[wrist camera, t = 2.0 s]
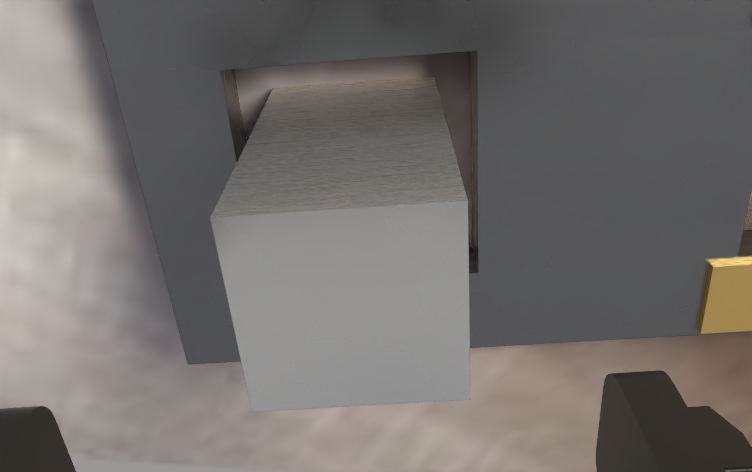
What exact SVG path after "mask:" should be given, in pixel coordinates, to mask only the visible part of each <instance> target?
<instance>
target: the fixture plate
mask: <svg viewBox="0 0 752 472" xmlns="http://www.w3.org/2000/svg"><path fill="white" fill-rule="evenodd" d="M92 2H93V6H94V10H95V14H96V18H97V21H98V25H99V29H100V33H101V37H102V40H103V44H104V48H105V52H106V56H107V59H108V63H109V67H110V71H111V74H112V78H113V82H114V86H115V90H116V93H117V97H118V101H119V105H120V109H121V112H122V116H123V120H124V124H125V128H126V131H127V135H128V139H129V143H130V146H131V150H132V154H133V158H134V162H135V165H136V169H137V173H138V177H139V181H140V184H141V188H142V192H143V196H144V200H145V203H146V207H147V211H148V215H149V218H150V222H151V226H152V230H153V234H154V237H155V241H156V245H157V249H158V253H159V256H160V260H161V264H162V268H163V272H164V275H165V279H166V283H167V287H168V290H169V294H170V298H171V302H172V306H173V309H174V313H175V317H176V321H177V325H178V328H179V332H180V336H181V340H182V344H183V347H184V351H185V355H186V359H187V362H188V364H204V363H221V362H238V361H241V358H240V354H239V349H238V344H237V340H236V335H235V331H234V326H233V321H232V317H231V312H230V307H229V303H228V298H227V293H226V289H225V284H224V279H223V275H222V270H221V266H220V261H219V256H218V252H217V247H216V242H215V238H214V233H213V228H212V224H211V219H210V217H211V215H212V213H213V211H214V209H215V207H216V205H217V203H218V201H219V199H220V197H221V195H222V193H223V190H224V188H225V186H226V184H227V182H228V180H229V178H230V176H231V174H232V172H233V170H234V168H235V166H236V164H237V162H238V160H239V157H240V155H241V153H242V151H243V149H244V147H245V145H246V139H245V133H244V127H243V122H242V116H241V111H240V105H239V99H238V94H237V88H236V82H235V77H234V71H233V69H239V68H253V67H266V66H279V65H292V64H306V63H319V62H332V61H345V60H359V59H372V58H385V57H399V56H412V55H425V54H438V53H452V52H465V51H470V56H471V167H472V248H469V326H470V348H477V347H494V346H511V345H528V344H545V343H562V342H579V341H596V340H613V339H630V338H647V337H664V336H681V335H698V334H715V333H732V332H749V331H752V230H743V228H744V223H745V218H746V214H747V209H748V204H749V199H750V194H751V189H752V0H92Z"/></svg>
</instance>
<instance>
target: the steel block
mask: <svg viewBox="0 0 752 472" xmlns="http://www.w3.org/2000/svg"><path fill="white" fill-rule="evenodd" d="M210 219H211V224H212V228H213V233H214V238H215V242H216V247H217V252H218V256H219V261H220V266H221V270H222V275H223V279H224V284H225V289H226V293H227V298H228V303H229V307H230V312H231V317H232V321H233V326H234V331H235V335H236V340H237V344H238V349H239V354H240V358H241V363H242V368H243V372H244V377H245V382H246V386H247V391H248V395H249V400H250V405H251V409H252V412H257V411H275V410H293V409H311V408H329V407H347V406H365V405H383V404H401V403H419V402H437V401H455V400H470V326H469V244H468V199H467V195H466V192H465V188H464V184H463V181H462V177H461V173H460V170H459V166H458V162H457V158H456V155H455V151H454V147H453V144H452V140H451V136H450V133H449V129H448V125H447V122H446V118H445V114H444V111H443V107H442V103H441V100H440V96H439V92H438V89H437V85H436V81H435V78H434V77H421V78H407V79H394V80H380V81H367V82H353V83H340V84H327V85H313V86H300V87H286V88H273V89H272V91H271V93H270V96H269V98H268V100H267V102H266V104H265V106H264V108H263V110H262V112H261V114H260V116H259V118H258V120H257V122H256V124H255V127H254V129H253V131H252V133H251V135H250V137H249V139H248V141H247V143H246V145H245V147H244V149H243V151H242V153H241V155H240V157H239V160H238V162H237V164H236V166H235V168H234V170H233V172H232V174H231V176H230V178H229V180H228V182H227V184H226V186H225V188H224V190H223V193H222V195H221V197H220V199H219V201H218V203H217V205H216V207H215V209H214V211H213V213H212V215H211V217H210Z"/></svg>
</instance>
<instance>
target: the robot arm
mask: <svg viewBox="0 0 752 472" xmlns="http://www.w3.org/2000/svg"><path fill="white" fill-rule="evenodd" d="M596 467H597V472H752V447H751V446H750V444H749V443H748V441H747V440H746V438H745V436H744V435H743V433H742V432H740V431H739V430H738V429H737V428H735V427H734V426H733V425H732V424H730V423H729V422H728V421H727V420H725V419H724V418H723V417H722V416H720V415H719V414H718V413H717V412H715V411H714V410H713V409H711V408H710V407H709V406H700V407H687V406H686V404H685V402H684V400H683V399H682V397H681V395H680V394H679V392H678V390H677V389H676V387H675V385H674V384H673V382H672V380H671V379H670V377H669V376H668V375H667V374H666V373H665V372H664V371H646V372H630V373H613V374H608V375H607V376H606V378H605V381H604V387H603V396H602V404H601V413H600V421H599V430H598V439H597V447H596ZM0 472H76V471H75V468H74V466H73V463H72V460H71V458H70V455H69V453H68V450H67V448H66V445H65V443H64V440H63V438H62V435H61V433H60V430H59V428H58V425H57V423H56V420H55V418H54V416H53V414H52V412H51V411H50V410H49V409H48V408H46V407H43V406H39V407H22V408H6V409H0Z"/></svg>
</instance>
